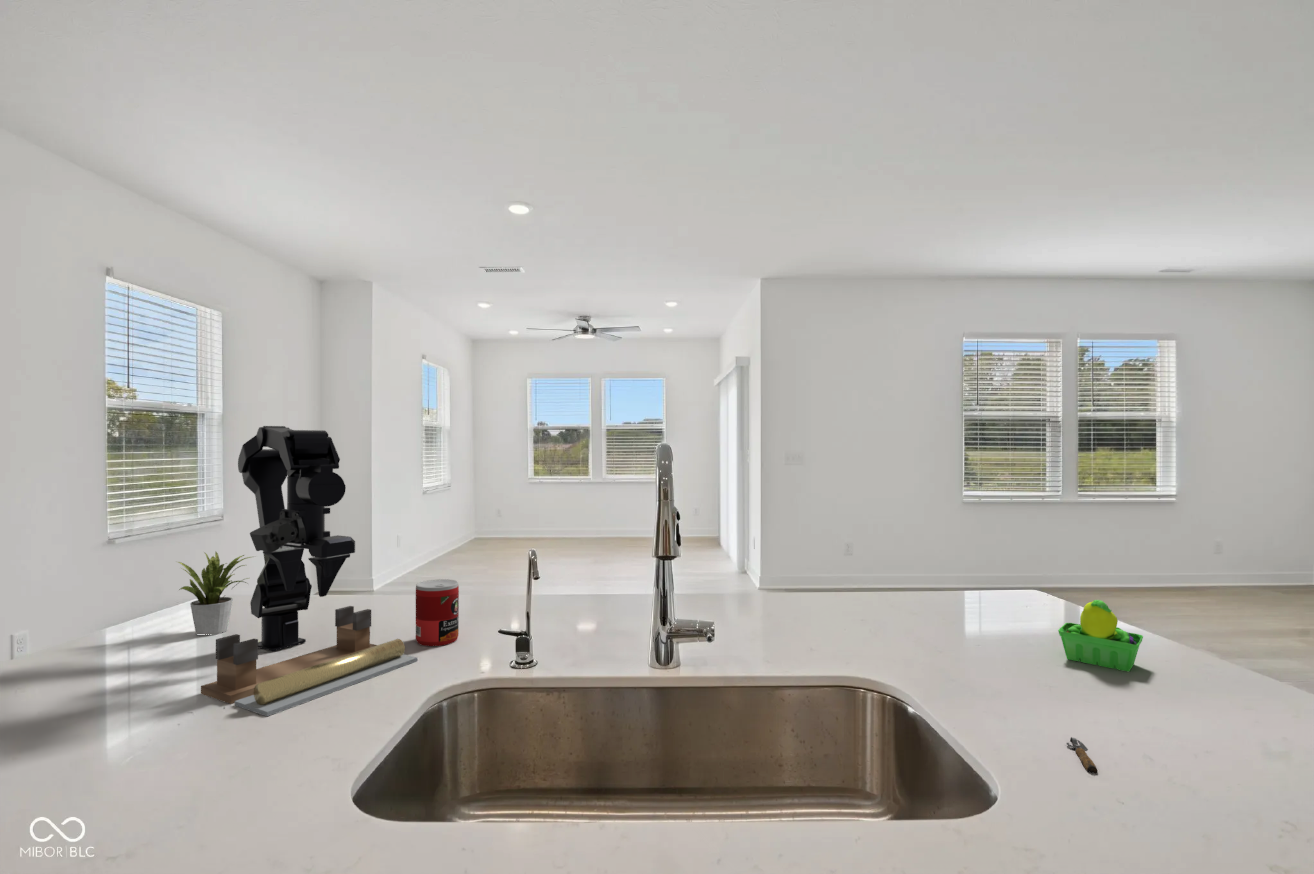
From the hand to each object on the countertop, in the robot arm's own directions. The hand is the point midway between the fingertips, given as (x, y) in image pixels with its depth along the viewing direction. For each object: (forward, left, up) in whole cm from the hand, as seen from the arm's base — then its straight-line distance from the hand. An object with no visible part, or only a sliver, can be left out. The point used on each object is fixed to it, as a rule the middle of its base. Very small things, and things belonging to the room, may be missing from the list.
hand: (305, 593), depth 112 cm
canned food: (+10, +20, -12) cm, 25 cm away
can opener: (+114, +24, -13) cm, 118 cm away
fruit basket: (+120, +65, -12) cm, 137 cm away
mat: (+12, -3, -12) cm, 17 cm away
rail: (+12, -3, -11) cm, 17 cm away
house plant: (-33, +3, -12) cm, 35 cm away
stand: (+3, -3, -12) cm, 13 cm away
